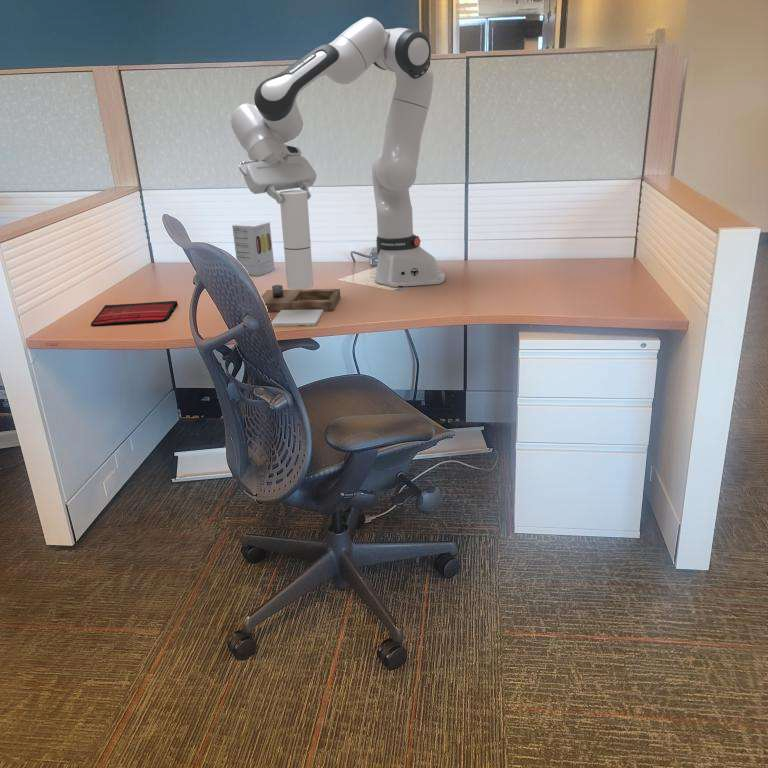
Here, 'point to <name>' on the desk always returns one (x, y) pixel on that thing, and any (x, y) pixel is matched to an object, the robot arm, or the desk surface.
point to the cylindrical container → (296, 239)
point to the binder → (134, 313)
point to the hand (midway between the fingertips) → (295, 200)
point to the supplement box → (254, 247)
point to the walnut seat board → (292, 299)
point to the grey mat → (297, 317)
